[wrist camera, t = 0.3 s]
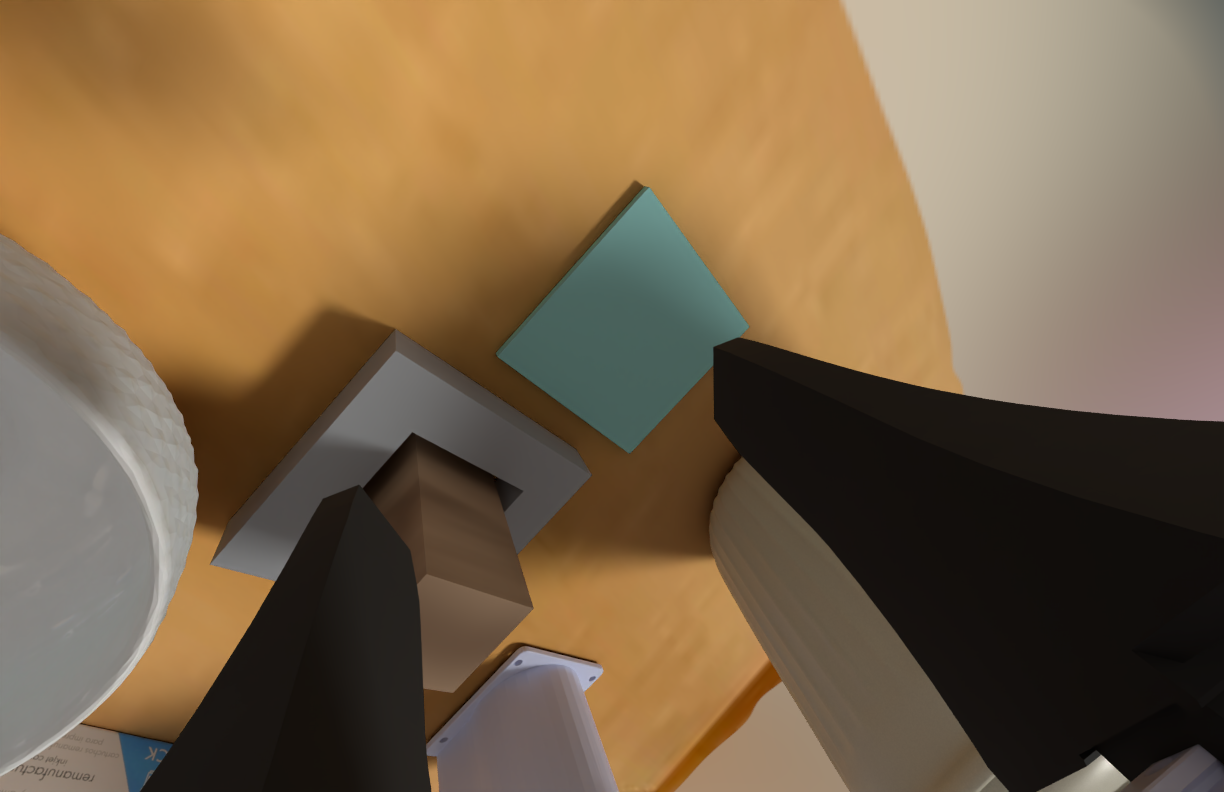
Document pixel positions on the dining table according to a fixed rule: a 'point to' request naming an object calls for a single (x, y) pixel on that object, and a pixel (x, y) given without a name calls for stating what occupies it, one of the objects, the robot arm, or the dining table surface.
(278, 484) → the pocket plate
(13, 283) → the cereal bowl
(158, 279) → the dining table surface
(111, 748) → the ink box
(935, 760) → the canister
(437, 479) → the walnut block
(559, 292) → the mat
